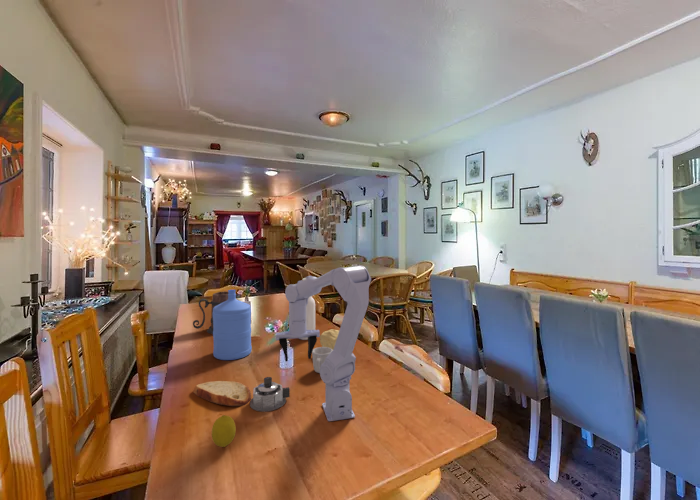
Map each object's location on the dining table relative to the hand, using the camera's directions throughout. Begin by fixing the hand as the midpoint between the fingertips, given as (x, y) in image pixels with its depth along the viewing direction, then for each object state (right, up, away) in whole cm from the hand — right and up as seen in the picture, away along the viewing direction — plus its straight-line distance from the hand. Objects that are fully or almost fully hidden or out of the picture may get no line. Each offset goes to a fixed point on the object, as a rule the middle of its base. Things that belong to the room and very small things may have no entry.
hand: (297, 359), depth 110 cm
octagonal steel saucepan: (-7, -10, -8) cm, 15 cm away
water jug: (-33, -9, +32) cm, 47 cm away
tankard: (-54, -7, +66) cm, 85 cm away
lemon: (-14, -12, -29) cm, 34 cm away
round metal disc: (-8, -11, -8) cm, 16 cm away
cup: (+7, -10, +14) cm, 18 cm away
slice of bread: (-24, -11, -4) cm, 27 cm away
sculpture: (+11, -9, +33) cm, 35 cm away
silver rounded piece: (-8, -10, -8) cm, 15 cm away
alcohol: (-4, -8, +54) cm, 55 cm away
